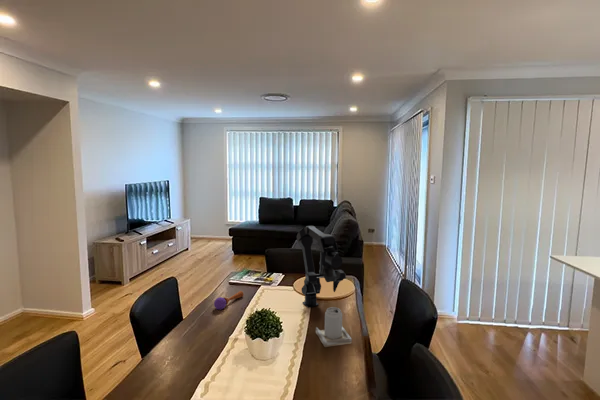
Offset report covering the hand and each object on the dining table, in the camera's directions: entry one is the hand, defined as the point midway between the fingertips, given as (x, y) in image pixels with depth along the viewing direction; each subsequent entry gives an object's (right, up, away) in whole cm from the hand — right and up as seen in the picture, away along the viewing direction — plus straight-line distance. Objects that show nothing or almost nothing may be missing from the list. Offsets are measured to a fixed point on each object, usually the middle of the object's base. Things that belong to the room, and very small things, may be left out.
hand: (325, 292), depth 155 cm
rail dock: (+2, -15, -15) cm, 22 cm away
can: (+2, -15, -15) cm, 21 cm away
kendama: (-50, -11, +16) cm, 53 cm away
